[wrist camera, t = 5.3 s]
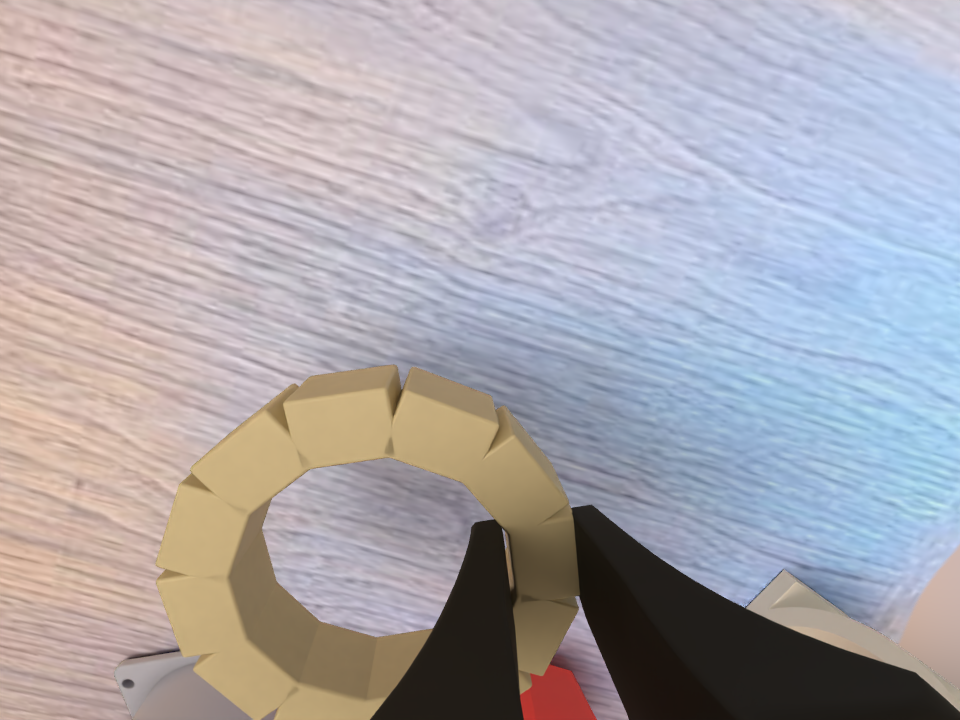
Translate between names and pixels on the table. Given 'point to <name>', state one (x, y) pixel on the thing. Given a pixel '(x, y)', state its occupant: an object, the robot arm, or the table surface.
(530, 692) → the apple
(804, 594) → the headphone stand
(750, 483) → the table surface
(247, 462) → the tan segmented ring
